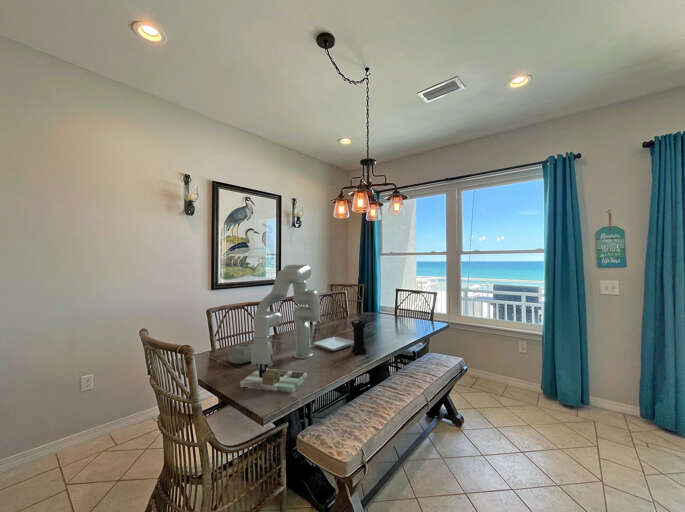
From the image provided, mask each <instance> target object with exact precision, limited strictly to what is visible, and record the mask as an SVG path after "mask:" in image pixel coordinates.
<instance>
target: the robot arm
mask: <svg viewBox="0 0 685 512" xmlns="http://www.w3.org/2000/svg"><path fill="white" fill-rule="evenodd" d="M311 275H312V268H311V266H310V265H308V264H287V265H285V266H284V267H283V269H280V270H279V271H278V273H277V274H276V278H275V281H274V283H273V286H272V288H271V292H270V293H268V294H266V296H265V297H264V298H262V300H261V301H260V302H259V303H258V306H257V309H256V311H255V313H254V317H253V336H252V340H253V342H252V344H251V345H252V349H251V361H250V362H251V363H252V365H253V366H256V367H257V370H258V369H259V376H260V378H262V373H264V372H265V371H266V369H268V367H271V366H273V364H274V363H273V360H274V352H273V351H274V350H273V345H272V342H271V340H270V339H271V337H270V336H271V330H270V328H273V327H275V328H276V327H278V326H279V325H281V323H282V320H283V315H282V314H281V313H280V312H278V311H270V310H269V311H268V308H270V307H271V306H272V305H275V303H278V302H280V301H282V300H284V299H286V297H287V296H288V293H289V289H290V286H291V285H292V289H293V299H294V303H295V304H297V306H296V307H295V308H294V309H293V312H292V314H293V315H292V316H293V320H294V331H295V332H294V333H295V338H294V339H295V352H293V354H292V356H293V358H295V359H300V360H301V359H303V360H304V359H310V358H311V357H313V356H314V351H312V348H313V347H312V345H311V326H310V322H313V323H317V322H318V321H320V318H321V301H320V295H319V292H318V291H317V290H315V289H308V285H307V280H308V279H310V277H311Z"/></svg>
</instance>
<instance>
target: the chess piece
mask: <svg viewBox="0 0 685 512" xmlns="http://www.w3.org/2000/svg"><path fill="white" fill-rule="evenodd" d="M350 323H351V327H352V328H353V330H352V332H353V341H354V343H353V345H352V348H351V350H350V352H351V353H352V354H353V355H355V356H363V355H368V351H367V349H366V346H365V340H364V339H365V337H364V336H365V335H364V334H365V329H364V328H366V325H367V323H366V321H363V320H358V322H355V321H351V322H350Z"/></svg>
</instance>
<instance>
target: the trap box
mask: <svg viewBox="0 0 685 512" xmlns="http://www.w3.org/2000/svg"><path fill="white" fill-rule="evenodd" d="M268 369H269V368H266V371H267V370H268ZM273 369H274V370H278V368H277V369H275V368H273ZM279 370H280V381H278V382H277V383H276V384H275V385H273V386H272V385H264V384H262V378H260V376H259V369H258V368H257V369H256V370H255V371H253V372H252V373H251V374H249V375H247V376H246V377H245V378H244V379H242V380H241V381H239V387H240V386H241V387H240V388H242V387H248V388H247V389H251V388H257V389H256V390H260V389H264V390H263V391H269V390H273V391H272V392H278V391H281V392H280V393H287V392H289V394H293V393H294V392H295V391H296V390H297V389H298V388H299V386H300V385H302V384H303V382H304V381H306V379H307V378H308V371H307V372H306V371H297V370H286V369H285V370H284V369H279Z"/></svg>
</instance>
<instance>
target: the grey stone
mask: <svg viewBox="0 0 685 512" xmlns="http://www.w3.org/2000/svg"><path fill="white" fill-rule="evenodd" d="M251 349H252V344H250V343H247V344H237V345H235V346H233V347H232V348H230V350H229V352H228V353H227V359H228V361H229V362H230V363H233V364H237V365H238V364H239V365H240V364H246V363H248V362H251Z"/></svg>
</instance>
